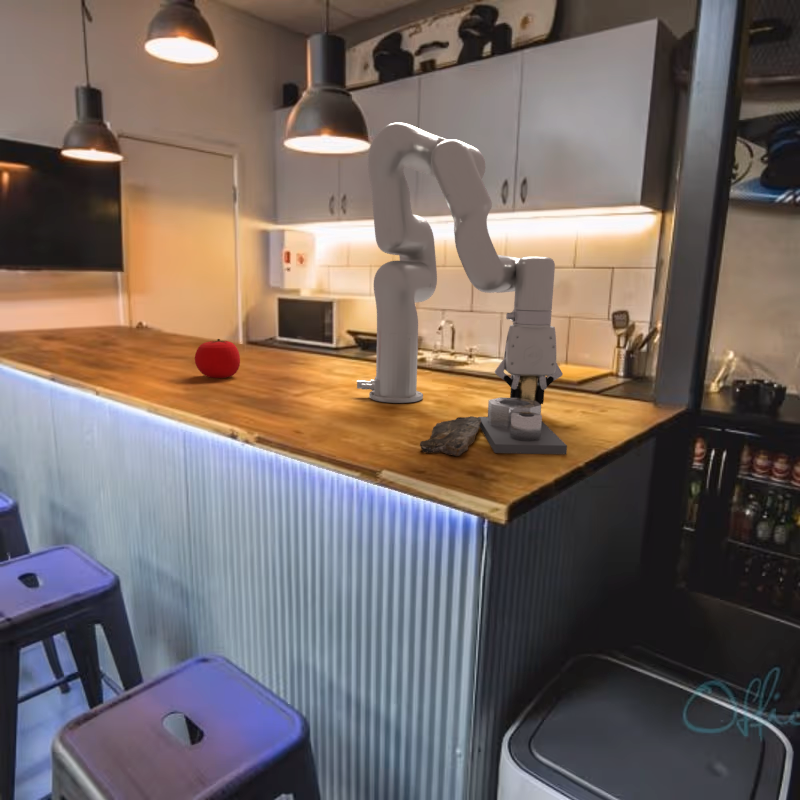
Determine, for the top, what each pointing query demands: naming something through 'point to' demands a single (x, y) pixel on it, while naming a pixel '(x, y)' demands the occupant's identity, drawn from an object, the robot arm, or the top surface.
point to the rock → (452, 436)
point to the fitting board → (506, 444)
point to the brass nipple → (528, 387)
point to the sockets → (516, 417)
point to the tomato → (217, 359)
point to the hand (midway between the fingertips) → (526, 406)
